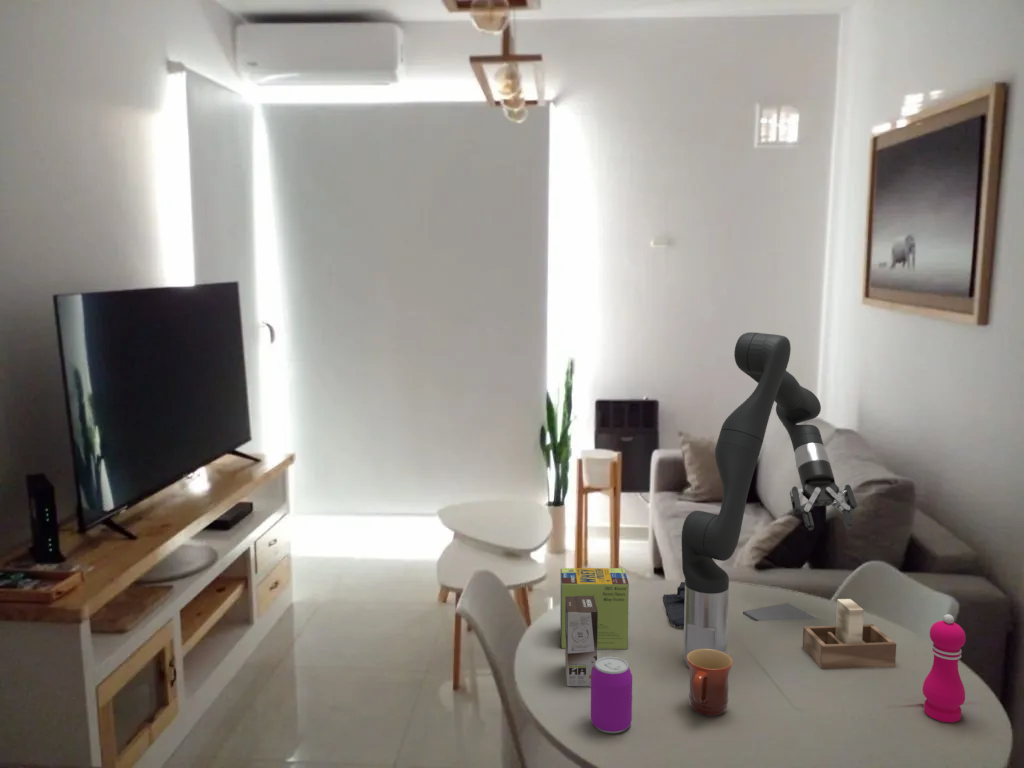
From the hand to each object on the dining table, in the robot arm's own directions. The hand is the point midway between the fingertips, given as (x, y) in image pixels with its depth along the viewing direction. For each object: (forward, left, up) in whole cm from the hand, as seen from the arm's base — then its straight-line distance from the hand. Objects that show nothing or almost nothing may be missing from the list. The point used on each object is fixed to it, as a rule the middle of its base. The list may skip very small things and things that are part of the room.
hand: (830, 528), depth 186 cm
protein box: (-25, +49, -26) cm, 60 cm away
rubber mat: (+4, +9, -26) cm, 28 cm away
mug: (-46, +18, -26) cm, 56 cm away
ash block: (-11, -5, -25) cm, 28 cm away
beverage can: (-58, +33, -26) cm, 71 cm away
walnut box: (-11, -5, -26) cm, 29 cm away
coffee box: (-43, +45, -26) cm, 67 cm away
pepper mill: (-27, -23, -26) cm, 44 cm away
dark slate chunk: (0, +31, -27) cm, 41 cm away
